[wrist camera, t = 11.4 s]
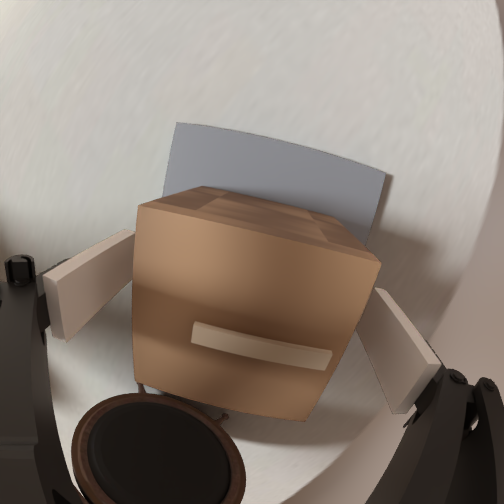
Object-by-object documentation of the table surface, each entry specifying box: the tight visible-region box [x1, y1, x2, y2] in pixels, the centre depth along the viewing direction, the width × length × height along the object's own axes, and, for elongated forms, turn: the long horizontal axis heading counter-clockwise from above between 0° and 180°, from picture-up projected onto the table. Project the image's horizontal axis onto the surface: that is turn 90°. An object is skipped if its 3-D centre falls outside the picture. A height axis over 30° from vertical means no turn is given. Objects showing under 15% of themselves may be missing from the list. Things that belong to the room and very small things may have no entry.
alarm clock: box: [71, 382, 246, 504], centre depth 14 cm, size 14×7×20 cm, turn 67°
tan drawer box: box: [132, 186, 382, 422], centre depth 13 cm, size 8×8×8 cm
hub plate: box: [162, 122, 386, 246], centre depth 15 cm, size 13×15×6 cm
